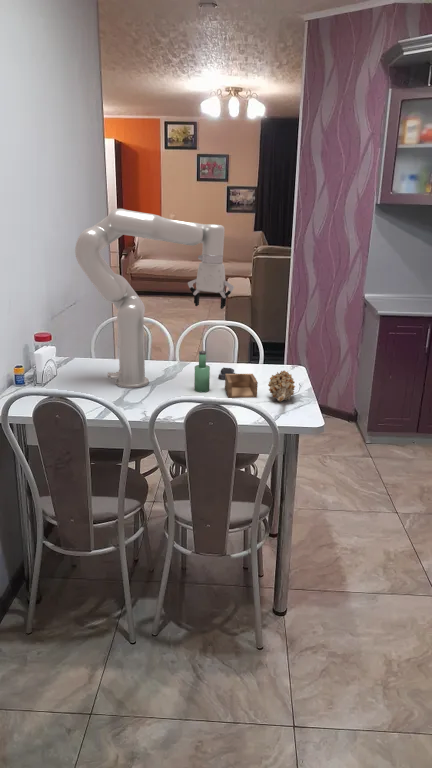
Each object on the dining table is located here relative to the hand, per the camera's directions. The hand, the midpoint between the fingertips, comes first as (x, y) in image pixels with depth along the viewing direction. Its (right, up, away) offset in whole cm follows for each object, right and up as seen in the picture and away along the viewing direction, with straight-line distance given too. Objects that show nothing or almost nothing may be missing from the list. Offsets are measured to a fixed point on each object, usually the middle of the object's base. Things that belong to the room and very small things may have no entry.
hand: (209, 306), depth 204 cm
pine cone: (+26, -35, -9) cm, 45 cm away
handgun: (+11, -26, +19) cm, 34 cm away
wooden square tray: (+11, -32, -1) cm, 34 cm away
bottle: (-3, -31, +2) cm, 31 cm away
